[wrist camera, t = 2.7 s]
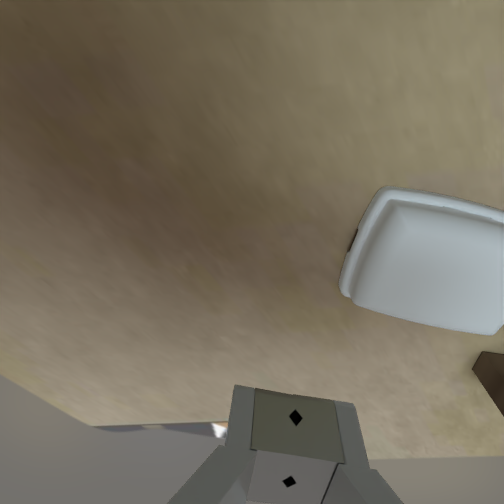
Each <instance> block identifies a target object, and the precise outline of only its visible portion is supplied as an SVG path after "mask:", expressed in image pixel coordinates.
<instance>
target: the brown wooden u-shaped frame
mask: <svg viewBox="0 0 504 504" xmlns="http://www.w3.org/2000/svg"><path fill="white" fill-rule="evenodd" d="M472 370H473V371H474V373H475V374H476V376H477V377H478V379H479V380H480V382H481V383H482V385H483V386H484V388H485V389H486V391H487V392H488V394H489V395H490V397H491V398H492V400H493V401H494V403H495V404H496V406H497V407H498V409H499V410H500V412H501V413H502V415H503V416H504V355H503V354H496V353H489V352H482V354H481V355H480V357H479V359H478V360H477V362H476V364H475V365H474V367H473V369H472Z"/></svg>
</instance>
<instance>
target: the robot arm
mask: <svg viewBox="0 0 504 504" xmlns="http://www.w3.org/2000/svg"><path fill="white" fill-rule="evenodd" d="M246 500H247V501H256V502H263V503H271V504H404V503H403V502H402V501H401V500H400V498H399V497H398V496H397V495H396V493H395V492H394V491H393V490H392V488H391V487H390V486H389V485H388V483H386V481H385V480H384V479H383V477H382V476H381V475H380V474H379V472H378V471H377V470H375V469H370V467H369V462H368V458H367V454H366V450H365V446H364V441H363V437H362V433H361V429H360V424H359V420H358V416H357V412H356V408H355V406H354V404H353V403H348V402H342V401H335V400H330V399H323V398H316V397H309V396H302V395H295V394H293V395H292V394H286V393H281V392H275V391H270V390H264V389H259V388H255V389H254V388H252V387H246V386H241V385H235V386H234V390H233V397H232V403H231V409H230V415H229V421H228V427H227V433H226V440H225V446H222V445H219V446H218V447H217V448H216V449H215V450H214V451H213V453H212V454H211V455H210V456H209V457H208V458H207V459H206V461H205V462H204V463H203V464H202V465H201V466H200V467H199V468H198V469H197V470H196V472H195V473H194V474H193V475H192V476H191V477H190V478H189V479H188V481H187V482H186V483H185V484H184V485H183V486H182V487H181V488H180V490H179V491H178V492H177V493H176V494H175V495H174V496H173V497H172V498H171V499H170V501H169V502H168V503H167V504H245V503H246Z"/></svg>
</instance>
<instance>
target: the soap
mask: <svg viewBox="0 0 504 504" xmlns="http://www.w3.org/2000/svg"><path fill="white" fill-rule="evenodd" d="M443 206H444V207H443ZM491 218H492V219H491ZM357 228H358V233H357V235H356V237H355V240H354V242H353V244H352V247H351V249H350V252H348V251H347V254H346V257H345V260H344V264H343V267H342V270H341V274H340V278H339V284H338V285H339V288H340V291H341V293H342V294H343V295H344V296H346V297H349V298H351V299H352V302H353V303H354V304H355V305H357V306H360V307H363V308H366V309H369V310H372V311H375V312H379V313H382V314H386V315H389V316H393V317H396V318H400V319H404V320H408V321H412V322H416V323H421V324H425V325H430V326H434V327H440V328H445V329H450V330H456V331H462V332H468V333H475V334H483V335H490V336H491V335H494V334H495V333H496V332H497V331H498V330H499V329H500V328H501V327H502V325H503V324H504V211H502V210H499V209H496V208H493V207H490V206H486V205H483V204H480V203H476V202H472V201H468V200H465V199H461V198H457V197H452V196H447V195H443V194H438V193H433V192H427V191H421V190H415V189H409V188H401V187H394V186H385V187H383V188H381V189H380V190H378V191H377V193H376V194H375V196H374V198H373V199H372V201H371V203H370V204H369V206H368V208H367V210H366V212H365V213H364V215H363V217H362V219H361V221H360V223H359V225H358V227H357Z"/></svg>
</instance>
